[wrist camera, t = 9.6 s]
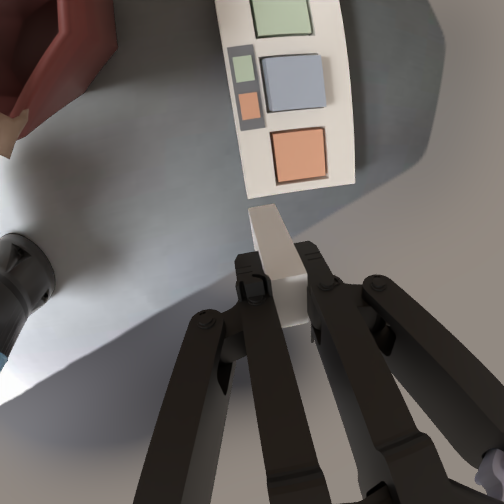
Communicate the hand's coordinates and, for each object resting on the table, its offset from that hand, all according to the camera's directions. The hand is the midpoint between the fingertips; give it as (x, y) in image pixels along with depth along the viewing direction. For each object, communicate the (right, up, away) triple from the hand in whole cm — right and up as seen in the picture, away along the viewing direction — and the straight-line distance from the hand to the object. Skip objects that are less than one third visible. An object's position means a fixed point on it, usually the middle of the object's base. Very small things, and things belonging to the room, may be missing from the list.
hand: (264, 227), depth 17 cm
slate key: (+4, +18, +12) cm, 22 cm away
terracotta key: (+5, +11, +19) cm, 23 cm away
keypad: (+3, +20, +15) cm, 25 cm away
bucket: (-26, +26, +8) cm, 38 cm away
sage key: (+2, +26, +9) cm, 28 cm away
